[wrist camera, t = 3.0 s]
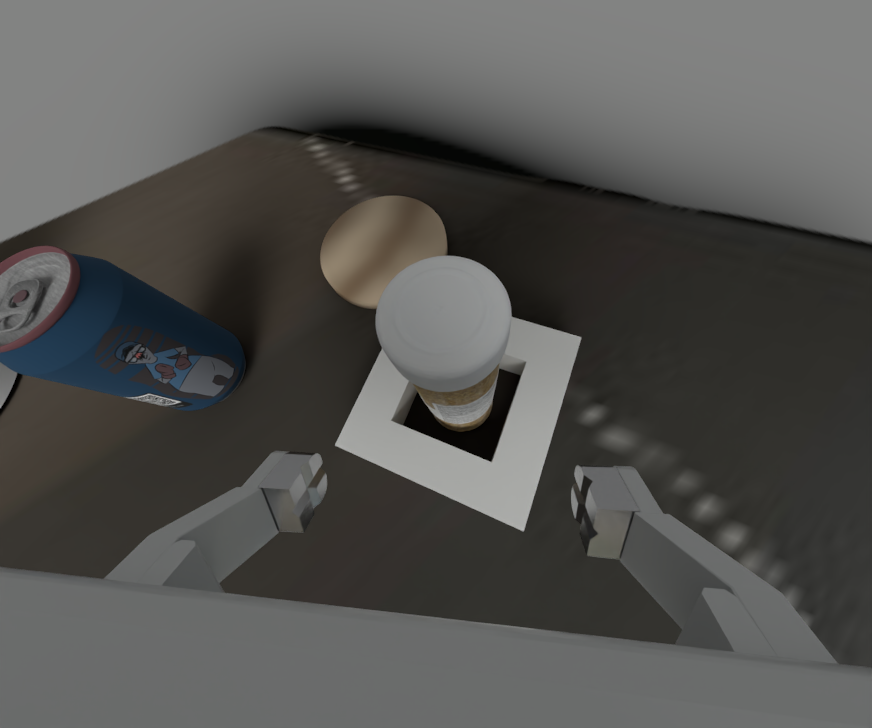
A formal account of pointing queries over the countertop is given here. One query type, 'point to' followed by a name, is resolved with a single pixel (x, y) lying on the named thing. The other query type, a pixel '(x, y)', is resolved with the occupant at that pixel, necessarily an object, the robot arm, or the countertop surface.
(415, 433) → the collar
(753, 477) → the countertop surface
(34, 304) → the soda can
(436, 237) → the disc
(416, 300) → the sprinkles bottle
